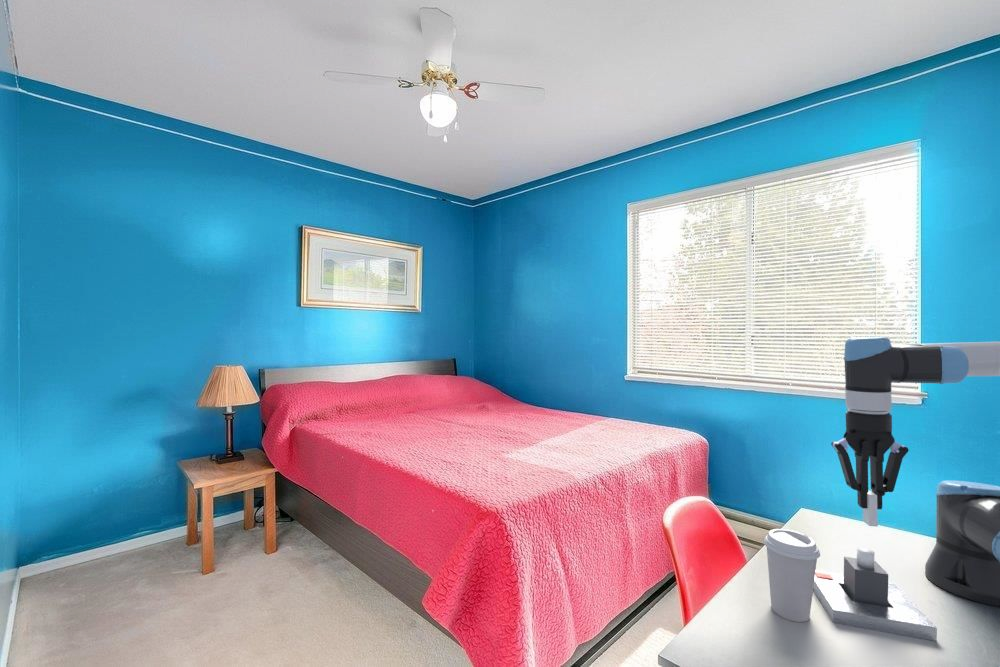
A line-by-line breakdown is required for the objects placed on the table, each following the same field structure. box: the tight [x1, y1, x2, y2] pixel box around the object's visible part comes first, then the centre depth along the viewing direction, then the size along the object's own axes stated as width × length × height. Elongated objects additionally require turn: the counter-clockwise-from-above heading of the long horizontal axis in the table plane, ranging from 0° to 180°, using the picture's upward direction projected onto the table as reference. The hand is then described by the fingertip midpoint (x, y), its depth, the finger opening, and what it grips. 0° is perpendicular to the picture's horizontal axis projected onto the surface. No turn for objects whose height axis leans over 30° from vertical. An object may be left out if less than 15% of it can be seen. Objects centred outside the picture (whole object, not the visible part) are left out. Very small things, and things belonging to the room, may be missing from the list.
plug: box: [843, 546, 889, 607], centre depth 93 cm, size 6×6×11 cm
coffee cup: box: [763, 528, 821, 623], centre depth 91 cm, size 10×10×15 cm
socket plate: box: [813, 569, 938, 642], centre depth 93 cm, size 16×16×3 cm
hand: (870, 523), depth 95 cm, fingers closed
